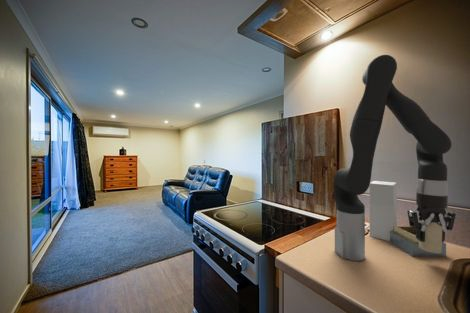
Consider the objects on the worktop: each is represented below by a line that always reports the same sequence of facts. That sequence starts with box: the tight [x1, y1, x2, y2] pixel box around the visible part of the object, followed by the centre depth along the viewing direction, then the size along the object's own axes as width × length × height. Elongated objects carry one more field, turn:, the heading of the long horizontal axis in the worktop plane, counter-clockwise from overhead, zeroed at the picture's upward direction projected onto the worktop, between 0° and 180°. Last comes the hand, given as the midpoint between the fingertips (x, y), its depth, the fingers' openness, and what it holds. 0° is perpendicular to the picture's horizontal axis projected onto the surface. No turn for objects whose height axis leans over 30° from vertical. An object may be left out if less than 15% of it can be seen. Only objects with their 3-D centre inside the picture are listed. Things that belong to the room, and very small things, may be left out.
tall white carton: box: [368, 180, 398, 242], centre depth 88 cm, size 9×9×25 cm
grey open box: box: [389, 225, 447, 258], centre depth 76 cm, size 12×11×8 cm
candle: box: [419, 220, 442, 253], centre depth 66 cm, size 6×6×10 cm
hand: (430, 240), depth 66 cm, fingers closed on candle, 5 cm apart
